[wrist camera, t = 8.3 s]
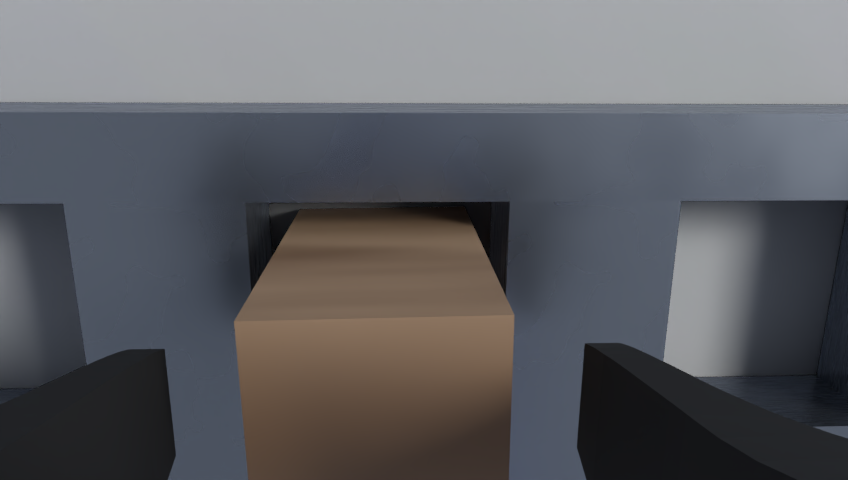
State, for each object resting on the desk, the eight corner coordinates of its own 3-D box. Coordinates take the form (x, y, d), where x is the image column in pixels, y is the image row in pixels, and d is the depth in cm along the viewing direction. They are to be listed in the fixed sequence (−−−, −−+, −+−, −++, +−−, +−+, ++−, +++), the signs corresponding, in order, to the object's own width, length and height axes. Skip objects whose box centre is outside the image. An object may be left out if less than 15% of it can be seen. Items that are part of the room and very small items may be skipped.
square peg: (462, 355, 17) (506, 546, 11) (309, 359, 17) (255, 556, 11) (464, 206, 16) (514, 314, 10) (300, 208, 16) (234, 321, 9)
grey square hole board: (885, 432, 19) (958, 489, 16) (-155, 453, 17) (-243, 519, 15) (957, 104, 16) (1057, 113, 14) (-249, 101, 15) (-372, 111, 12)
